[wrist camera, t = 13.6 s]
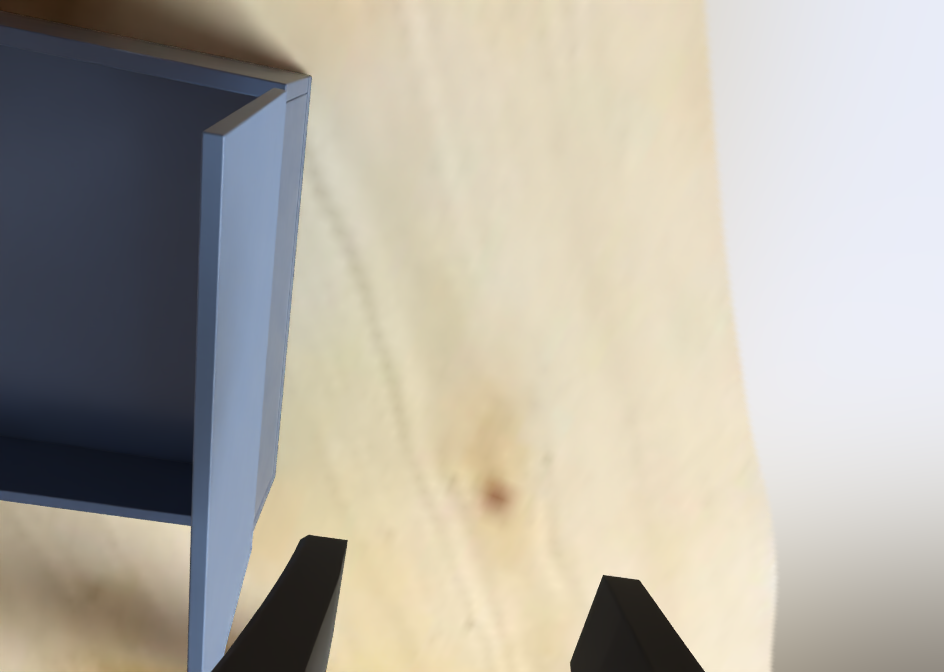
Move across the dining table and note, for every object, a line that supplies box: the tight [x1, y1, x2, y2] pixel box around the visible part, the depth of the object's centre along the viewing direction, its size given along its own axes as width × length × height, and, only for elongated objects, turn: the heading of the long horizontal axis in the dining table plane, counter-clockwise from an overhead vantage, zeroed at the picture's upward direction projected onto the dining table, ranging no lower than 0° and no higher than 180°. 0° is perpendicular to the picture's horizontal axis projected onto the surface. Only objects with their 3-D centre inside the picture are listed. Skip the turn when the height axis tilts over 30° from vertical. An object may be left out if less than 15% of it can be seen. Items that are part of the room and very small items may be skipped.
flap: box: [187, 88, 287, 672], centre depth 14 cm, size 6×13×1 cm
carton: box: [0, 11, 312, 531], centre depth 18 cm, size 12×13×3 cm
